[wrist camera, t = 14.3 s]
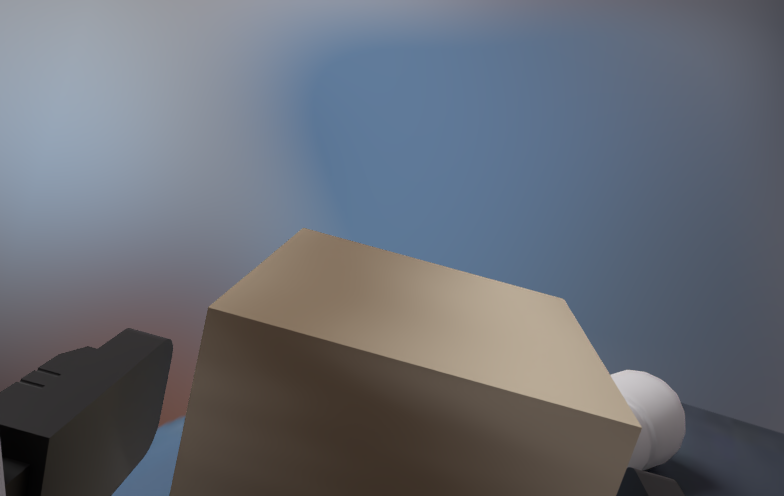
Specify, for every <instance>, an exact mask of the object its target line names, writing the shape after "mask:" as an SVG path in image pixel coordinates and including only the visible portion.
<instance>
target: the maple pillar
mask: <svg viewBox="0 0 784 496" xmlns="http://www.w3.org/2000/svg"><path fill="white" fill-rule="evenodd" d="M641 429H642V427H641V425H640V423H639V422H638V420H637V418H636V417H635V415H634V414H633V412H632V410H631V409H630V407H629V405H628V404H627V402H626V400H625V399H624V397H623V396H622V394H621V392H620V391H619V389H618V387H617V386H616V384H615V382H614V381H613V379H612V377H611V376H610V375H609V373H608V371H607V369H606V368H605V366H604V364H603V363H602V361H601V359H600V358H599V356H598V354H597V353H596V351H595V350H594V348H593V346H592V345H591V343H590V341H589V340H588V338H587V336H586V335H585V333H584V331H583V330H582V328H581V327H580V325H579V323H578V322H577V320H576V318H575V317H574V315H573V313H572V312H571V310H570V309H569V307H568V305H567V304H566V302H565V300H564V299H562V298H558V297H554V296H551V295H547V294H543V293H540V292H536V291H532V290H529V289H525V288H521V287H518V286H514V285H510V284H507V283H503V282H500V281H496V280H492V279H489V278H485V277H481V276H477V275H474V274H470V273H467V272H463V271H459V270H455V269H451V268H448V267H445V266H441V265H437V264H434V263H430V262H426V261H422V260H419V259H415V258H412V257H408V256H404V255H400V254H397V253H394V252H390V251H386V250H383V249H379V248H375V247H371V246H368V245H364V244H360V243H357V242H353V241H350V240H346V239H342V238H339V237H334V236H331V235H327V234H324V233H320V232H317V231H313V230H309V229H306V228H303V229H302V230H300V231H299V232H298V233H297V234H295V235H294V236H293V237H292V238H291V239H289V240H288V241H287V242H286V243H285V244H284V245H282V246H281V247H280V248H279V249H277V250H276V251H275V252H274V253H273V254H271V255H270V256H269V257H268V258H267V259H265V260H264V261H263V262H262V263H261V264H260V265H258V266H257V267H256V268H255V269H254V270H252V271H251V272H250V273H249V274H247V275H246V276H245V277H244V278H243V279H242V280H240V281H239V282H238V283H237V284H235V285H234V286H233V287H232V288H231V289H229V290H228V291H227V292H226V293H225V294H224V295H222V296H221V297H220V298H219V299H218V300H216V301H215V302H214V303H213V304H212V305H210V306H209V307H208V311H207V316H206V320H205V325H204V330H203V335H202V340H201V345H200V350H199V355H198V359H197V364H196V369H195V374H194V379H193V384H192V389H191V393H190V398H189V403H188V408H187V413H186V418H185V423H184V427H183V432H182V437H181V442H180V447H179V452H178V457H177V461H176V466H175V471H174V476H173V481H172V486H171V491H170V495H169V496H616V495H617V492H618V490H619V487H620V484H621V482H622V479H623V477H624V474H625V471H626V469H627V466H628V464H629V461H630V458H631V456H632V453H633V450H634V448H635V445H636V443H637V440H638V437H639V435H640V432H641Z"/></svg>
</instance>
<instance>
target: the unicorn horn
mask: <svg viewBox="0 0 784 496" xmlns="http://www.w3.org/2000/svg"><path fill="white" fill-rule="evenodd" d="M610 376H611V377H612V379H613V381H614V382H615V384H616V386H617V387H618V389H619V391H620V392H621V394H622V396H623V397H624V399H625V400H626V402H627V404H628V405H629V407H630V409H631V410H632V412H633V414H634V415H635V417H636V418H637V420H638V422H639V423H640V425H641V427H642V429H641V432H640V435H639V437H638V440H637V443H636V445H635V448H634V450H633V453H632V456H631V458H630V461H629V464H628V466H627V468H628V467H631V468H635V469H639V470H647V469H650V468H652V467H655V466H658V465H661V464H663V463H665V462H666V461H668V460H669V459H670V458H671V457H672V456H673V455H674V454H675V453H676V452H677V451H678V450H679V449H680V447H681V444H682V441H683V438H684V435H685V412H684V410H683V407H682V405H681V402H680V400H679V398H678V395H677V394H676V393H675V392H674V391H673V390H672V389H671V388H670V387H669V386H668V385H667V384H666V383H665V382H664V381H663V380H661V379H659V378H657V377H655V376H653V375H651V374H649V373H647V372H641V371H634V370H625V371H622V372H618V373H615V374H611V375H610Z"/></svg>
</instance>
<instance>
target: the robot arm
mask: <svg viewBox="0 0 784 496" xmlns="http://www.w3.org/2000/svg"><path fill="white" fill-rule="evenodd" d="M172 351H173V345H172V341H171V340H170V339H167V338H163V337H160V336H156V335H152V334H149V333H145V332H142V331H138V330H134V329H131V328H128V329H125V330H124V331H122V332H121V333H119V334H118V335H117V336H115V337H114V338H112V339H111V340H110V341H108V342H107V343H105V344H104V345H102V346H101V347H100V348H98V349H96V348H92V347H84V348H80V349H77V350H73V351H70V352H66V353H62V354H59V355H58V356H56V357H54V358H53V359H51V360H49V361H48V362H46V363H45V364H43V365H42V366H40V367H39V368H38V370H37V371H35V370H34V371H32V372H31V373H29V374H28V375H26V376H25V377H23V378H22V379H21V381H20V382H15V383H14V384H12V385H11V386H9V387H8V388H6V389H5V390H3V391H1V392H0V496H111V495H112V494H113V493H114V492H115V490H116V489H117V488H118V487H119V486H120V485H121V483H122V482H123V481H124V480H125V479H126V478H127V476H128V475H129V474H130V473H131V472H132V470H133V469H134V468H135V467H136V466H137V465H138V463H139V462H140V461H141V460H142V459H143V457H144V456H145V455H146V453H147V451H148V450H149V448H150V446H151V444H152V441H153V439H154V436H155V434H156V431H157V428H158V424H159V420H160V415H161V410H162V404H163V400H164V394H165V389H166V384H167V379H168V373H169V369H170V364H171V358H172ZM616 496H685V495H684V493H683V491H682V490H681V488H680V487H679V485H678V483H677V482H676V481H675V480H674V479H671V478H668V477H664V476H661V475H657V474H653V473H650V472H646V471H642V470H639V469H635V468H631V467H628V468H627V469H626V471H625V474H624V477H623V479H622V482H621V484H620V487H619V490H618V492H617V495H616Z"/></svg>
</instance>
